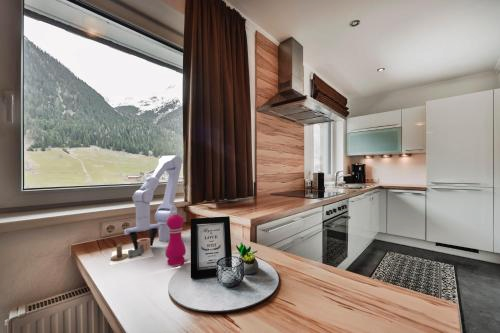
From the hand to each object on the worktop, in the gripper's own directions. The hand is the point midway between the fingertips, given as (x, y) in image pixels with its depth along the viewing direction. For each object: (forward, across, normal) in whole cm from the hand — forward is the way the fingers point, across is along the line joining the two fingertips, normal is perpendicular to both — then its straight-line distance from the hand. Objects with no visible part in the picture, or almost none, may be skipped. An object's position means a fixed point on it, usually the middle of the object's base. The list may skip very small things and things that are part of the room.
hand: (143, 247), depth 96 cm
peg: (+1, +10, +4) cm, 11 cm away
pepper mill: (+2, -5, +24) cm, 24 cm away
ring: (+1, 0, 0) cm, 1 cm away
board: (+2, +5, +3) cm, 6 cm away
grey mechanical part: (+1, +4, +5) cm, 7 cm away
